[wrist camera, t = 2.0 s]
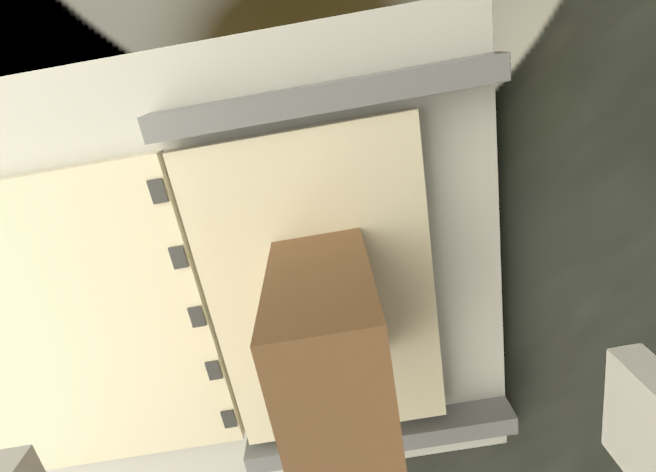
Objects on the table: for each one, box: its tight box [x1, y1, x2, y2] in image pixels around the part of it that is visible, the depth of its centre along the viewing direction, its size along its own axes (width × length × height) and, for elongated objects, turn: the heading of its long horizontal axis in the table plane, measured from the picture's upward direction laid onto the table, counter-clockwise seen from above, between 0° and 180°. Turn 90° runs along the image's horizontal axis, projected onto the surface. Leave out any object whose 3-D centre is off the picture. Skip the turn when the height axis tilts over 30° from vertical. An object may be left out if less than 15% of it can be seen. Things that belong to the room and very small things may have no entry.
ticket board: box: [0, 0, 518, 472], centre depth 18 cm, size 24×18×2 cm
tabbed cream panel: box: [162, 107, 447, 472], centre depth 14 cm, size 8×12×7 cm, turn 9°
